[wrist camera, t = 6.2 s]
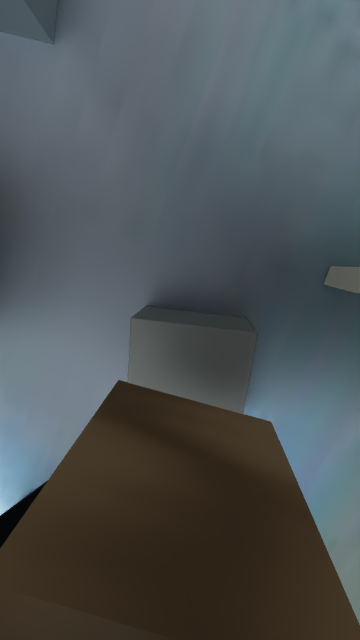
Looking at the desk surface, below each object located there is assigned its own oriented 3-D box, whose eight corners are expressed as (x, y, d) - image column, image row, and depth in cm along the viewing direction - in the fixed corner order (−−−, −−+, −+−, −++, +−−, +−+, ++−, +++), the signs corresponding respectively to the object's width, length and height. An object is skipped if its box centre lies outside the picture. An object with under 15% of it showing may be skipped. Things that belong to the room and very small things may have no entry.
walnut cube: (94, 498, 9) (-32, 776, 4) (118, 379, 8) (-23, 580, 3) (225, 535, 9) (253, 867, 4) (271, 422, 8) (395, 705, 3)
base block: (140, 392, 19) (125, 426, 15) (146, 305, 17) (130, 318, 13) (230, 404, 18) (237, 442, 15) (245, 316, 17) (257, 333, 13)
